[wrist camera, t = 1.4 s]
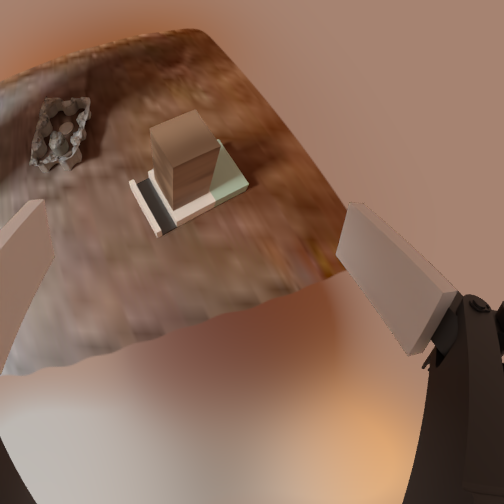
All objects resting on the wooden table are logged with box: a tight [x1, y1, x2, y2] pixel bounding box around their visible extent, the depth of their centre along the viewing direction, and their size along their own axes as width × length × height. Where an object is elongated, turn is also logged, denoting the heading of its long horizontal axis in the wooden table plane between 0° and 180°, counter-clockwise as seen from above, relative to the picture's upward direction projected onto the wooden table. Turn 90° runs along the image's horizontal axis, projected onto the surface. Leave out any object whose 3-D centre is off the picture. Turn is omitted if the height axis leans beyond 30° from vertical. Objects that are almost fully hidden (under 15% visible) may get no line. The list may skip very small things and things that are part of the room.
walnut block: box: [150, 109, 221, 211], centre depth 29 cm, size 4×4×10 cm
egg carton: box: [29, 97, 91, 173], centre depth 32 cm, size 11×8×4 cm
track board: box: [129, 139, 249, 238], centre depth 35 cm, size 7×12×2 cm, turn 123°
